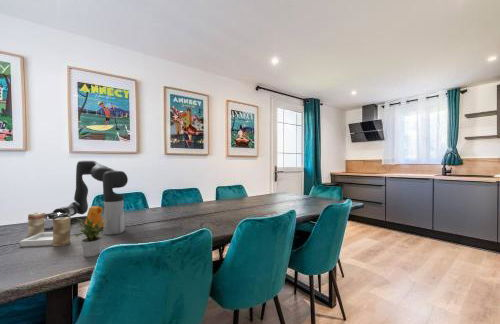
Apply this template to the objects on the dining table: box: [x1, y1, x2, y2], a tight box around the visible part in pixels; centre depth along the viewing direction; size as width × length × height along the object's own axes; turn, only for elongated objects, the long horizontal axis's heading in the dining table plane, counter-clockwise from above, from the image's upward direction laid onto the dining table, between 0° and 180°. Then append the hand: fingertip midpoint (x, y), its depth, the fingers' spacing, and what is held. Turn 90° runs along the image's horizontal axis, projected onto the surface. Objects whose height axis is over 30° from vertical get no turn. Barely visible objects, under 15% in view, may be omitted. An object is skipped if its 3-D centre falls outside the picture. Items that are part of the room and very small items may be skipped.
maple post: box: [27, 212, 45, 237], centre depth 121 cm, size 5×5×11 cm
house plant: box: [70, 216, 109, 258], centre depth 95 cm, size 14×14×16 cm
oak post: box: [52, 217, 71, 247], centre depth 107 cm, size 4×4×12 cm
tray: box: [19, 231, 53, 248], centre depth 111 cm, size 13×13×2 cm
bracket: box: [83, 205, 104, 229], centre depth 137 cm, size 11×7×12 cm, turn 171°
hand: (45, 219), depth 127 cm, fingers open, 8 cm apart
